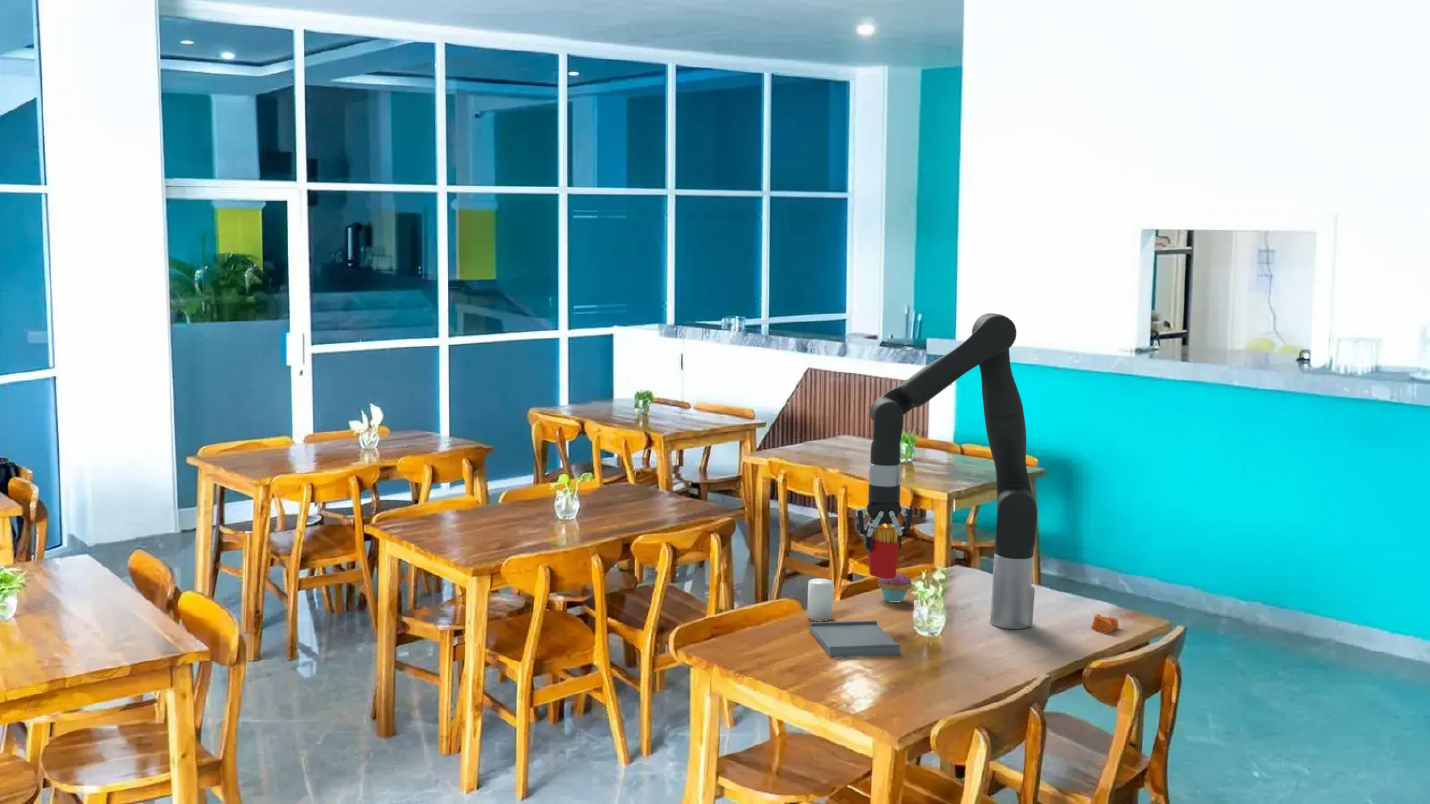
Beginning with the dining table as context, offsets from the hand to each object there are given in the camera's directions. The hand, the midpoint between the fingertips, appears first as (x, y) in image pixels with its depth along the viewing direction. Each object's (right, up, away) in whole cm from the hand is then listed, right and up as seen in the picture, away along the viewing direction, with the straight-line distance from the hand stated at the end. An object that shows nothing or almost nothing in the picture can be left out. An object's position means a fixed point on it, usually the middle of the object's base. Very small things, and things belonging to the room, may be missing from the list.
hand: (882, 550), depth 318 cm
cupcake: (+5, -15, +20) cm, 25 cm away
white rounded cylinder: (-15, -17, +3) cm, 23 cm away
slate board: (-9, -19, -15) cm, 26 cm away
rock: (+54, -20, +1) cm, 57 cm away
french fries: (0, -6, +1) cm, 6 cm away
